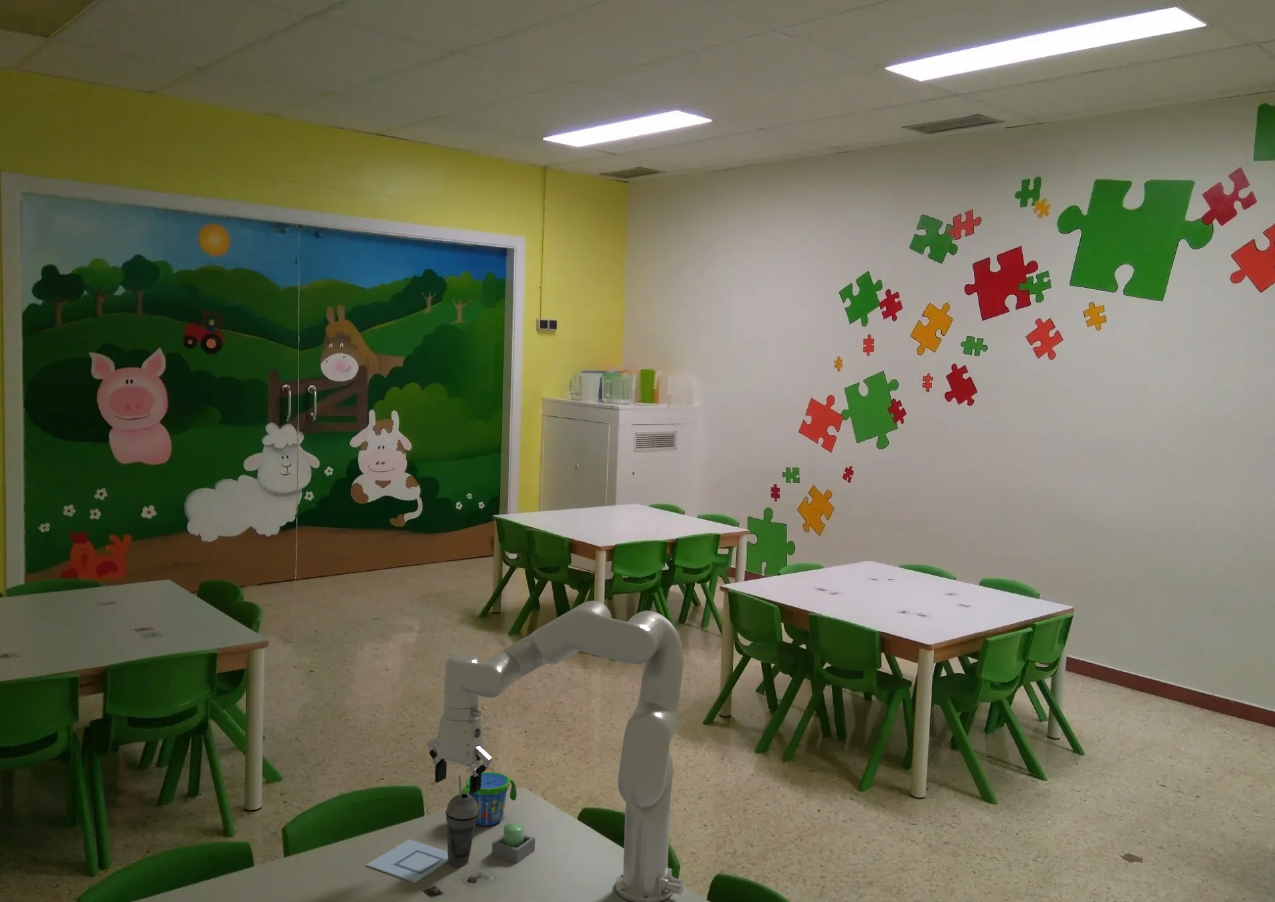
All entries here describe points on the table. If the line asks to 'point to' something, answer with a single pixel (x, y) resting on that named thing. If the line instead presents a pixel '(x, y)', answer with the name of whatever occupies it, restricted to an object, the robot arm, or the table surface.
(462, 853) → the beverage cup
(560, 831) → the table surface
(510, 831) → the button
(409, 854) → the paper
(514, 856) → the button housing
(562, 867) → the table surface
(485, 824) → the snack cup
